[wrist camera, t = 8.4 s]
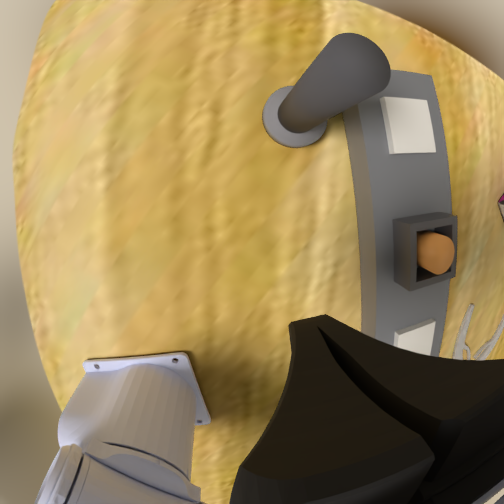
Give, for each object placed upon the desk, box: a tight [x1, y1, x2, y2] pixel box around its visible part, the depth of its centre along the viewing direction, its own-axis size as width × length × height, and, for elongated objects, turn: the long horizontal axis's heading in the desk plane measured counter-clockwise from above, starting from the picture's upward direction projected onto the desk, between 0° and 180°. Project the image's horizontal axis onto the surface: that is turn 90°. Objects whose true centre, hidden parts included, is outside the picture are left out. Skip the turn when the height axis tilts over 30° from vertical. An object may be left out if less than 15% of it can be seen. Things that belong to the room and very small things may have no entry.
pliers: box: [452, 304, 504, 360], centre depth 24 cm, size 10×2×15 cm
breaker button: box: [417, 230, 455, 275], centre depth 16 cm, size 2×2×2 cm
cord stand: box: [262, 33, 391, 148], centre depth 12 cm, size 4×4×10 cm
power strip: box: [342, 70, 457, 357], centre depth 17 cm, size 7×24×4 cm, turn 9°
